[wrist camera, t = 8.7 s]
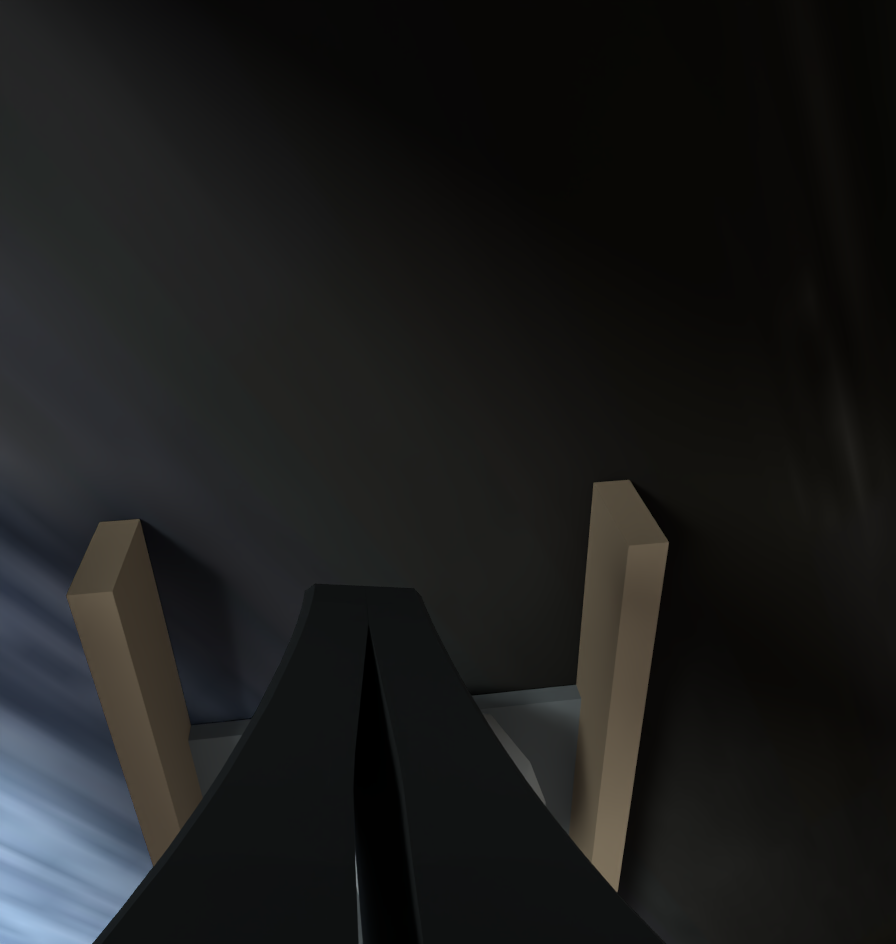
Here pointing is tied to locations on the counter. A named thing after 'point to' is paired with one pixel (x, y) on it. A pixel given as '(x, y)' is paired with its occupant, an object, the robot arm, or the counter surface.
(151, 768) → the tan u-shaped piece
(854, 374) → the counter surface
